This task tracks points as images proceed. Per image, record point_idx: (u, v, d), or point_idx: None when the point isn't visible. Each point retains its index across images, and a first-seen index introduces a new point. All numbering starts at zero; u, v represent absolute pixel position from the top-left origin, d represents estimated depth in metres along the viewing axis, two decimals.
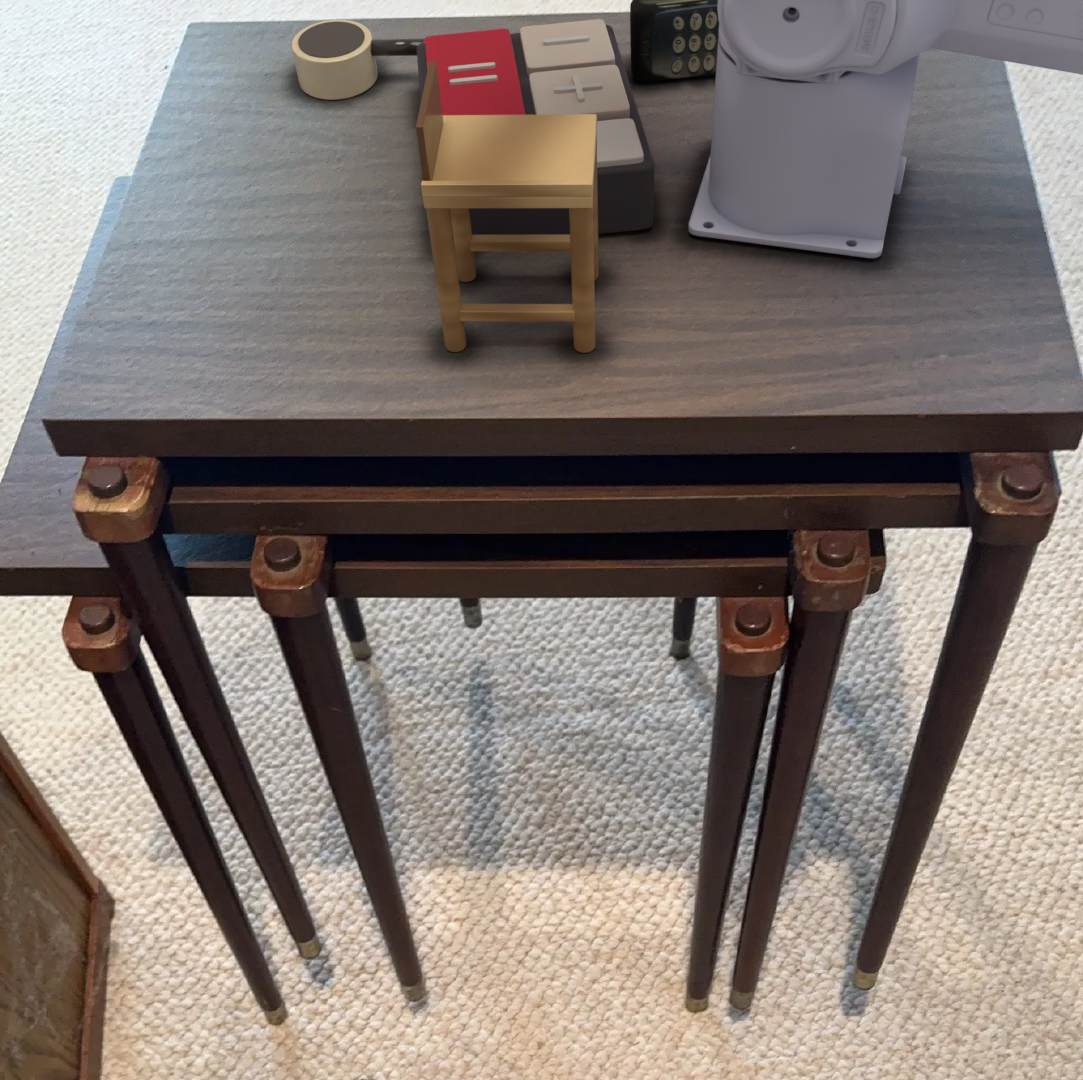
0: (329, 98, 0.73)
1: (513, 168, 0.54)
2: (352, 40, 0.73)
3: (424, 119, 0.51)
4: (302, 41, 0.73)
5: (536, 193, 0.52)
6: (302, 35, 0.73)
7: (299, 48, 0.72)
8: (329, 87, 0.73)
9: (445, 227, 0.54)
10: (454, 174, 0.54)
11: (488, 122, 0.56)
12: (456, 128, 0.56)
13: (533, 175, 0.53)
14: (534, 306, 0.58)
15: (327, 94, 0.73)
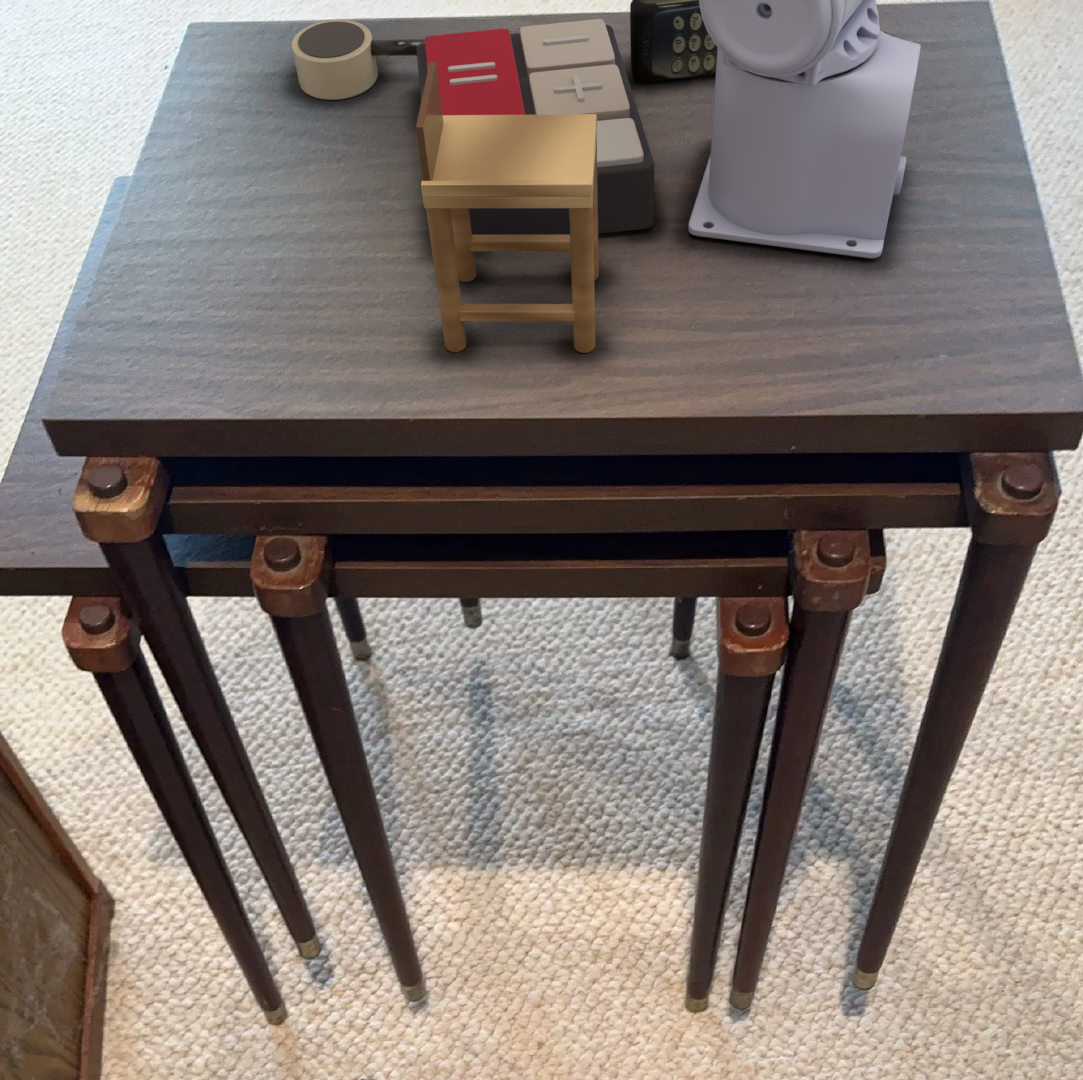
0: (329, 98, 0.73)
1: (513, 168, 0.54)
2: (352, 40, 0.73)
3: (424, 119, 0.51)
4: (302, 41, 0.73)
5: (536, 193, 0.52)
6: (302, 35, 0.73)
7: (299, 48, 0.72)
8: (329, 87, 0.73)
9: (445, 227, 0.54)
10: (454, 174, 0.54)
11: (488, 122, 0.56)
12: (456, 128, 0.56)
13: (533, 175, 0.53)
14: (534, 306, 0.58)
15: (327, 94, 0.73)
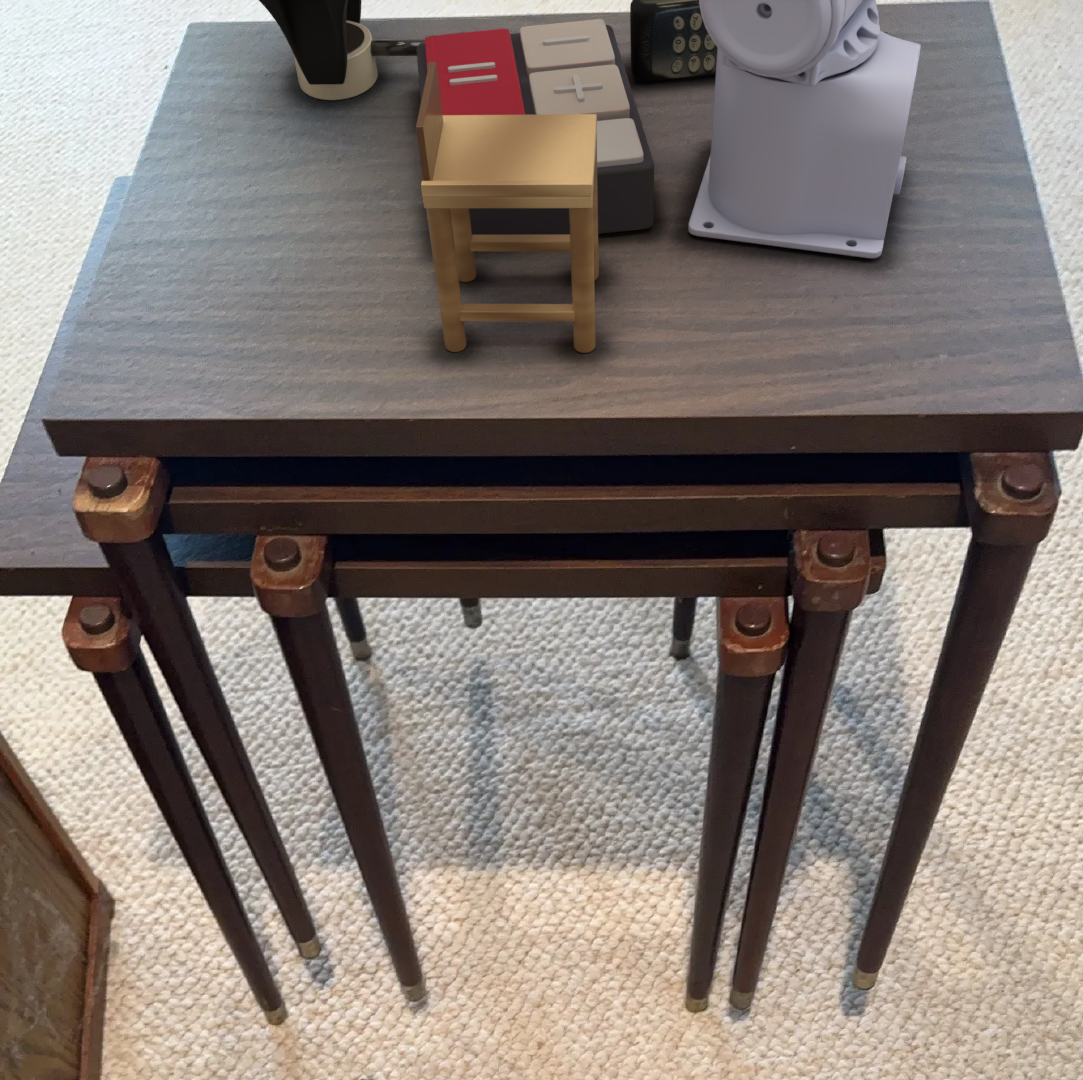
0: (328, 98, 0.73)
1: (513, 168, 0.54)
2: (352, 40, 0.73)
3: (424, 119, 0.51)
4: None
5: (536, 193, 0.52)
6: None
7: None
8: (329, 87, 0.73)
9: (445, 227, 0.54)
10: (454, 174, 0.54)
11: (488, 122, 0.56)
12: (456, 128, 0.56)
13: (533, 175, 0.53)
14: (534, 306, 0.58)
15: (327, 94, 0.73)
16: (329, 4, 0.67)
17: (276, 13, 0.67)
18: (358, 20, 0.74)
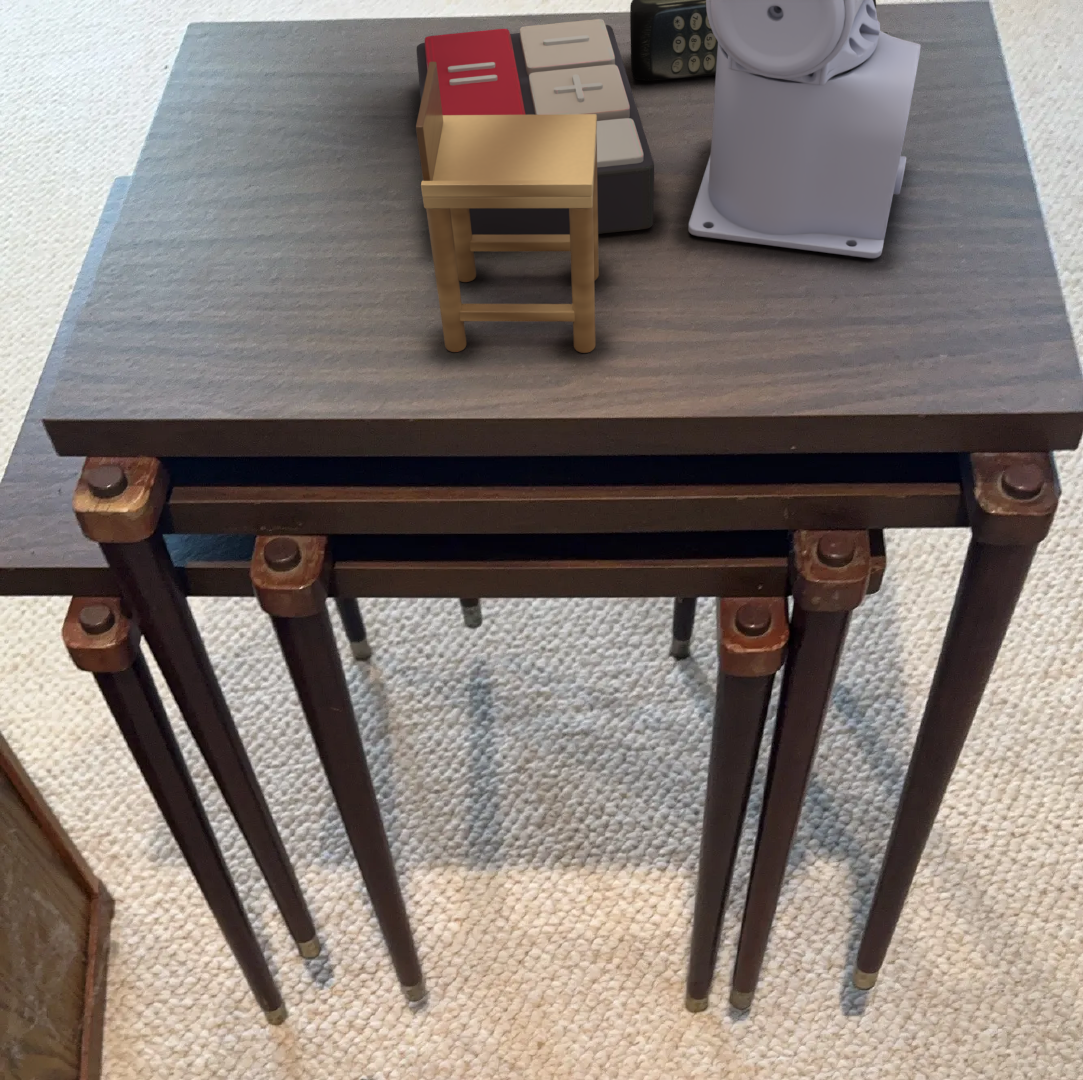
0: None
1: (513, 168, 0.54)
2: None
3: (424, 119, 0.51)
4: None
5: (536, 193, 0.52)
6: None
7: None
8: None
9: (445, 227, 0.54)
10: (454, 174, 0.54)
11: (488, 122, 0.56)
12: (456, 128, 0.56)
13: (533, 175, 0.53)
14: (534, 306, 0.58)
15: None
16: None
17: None
18: None
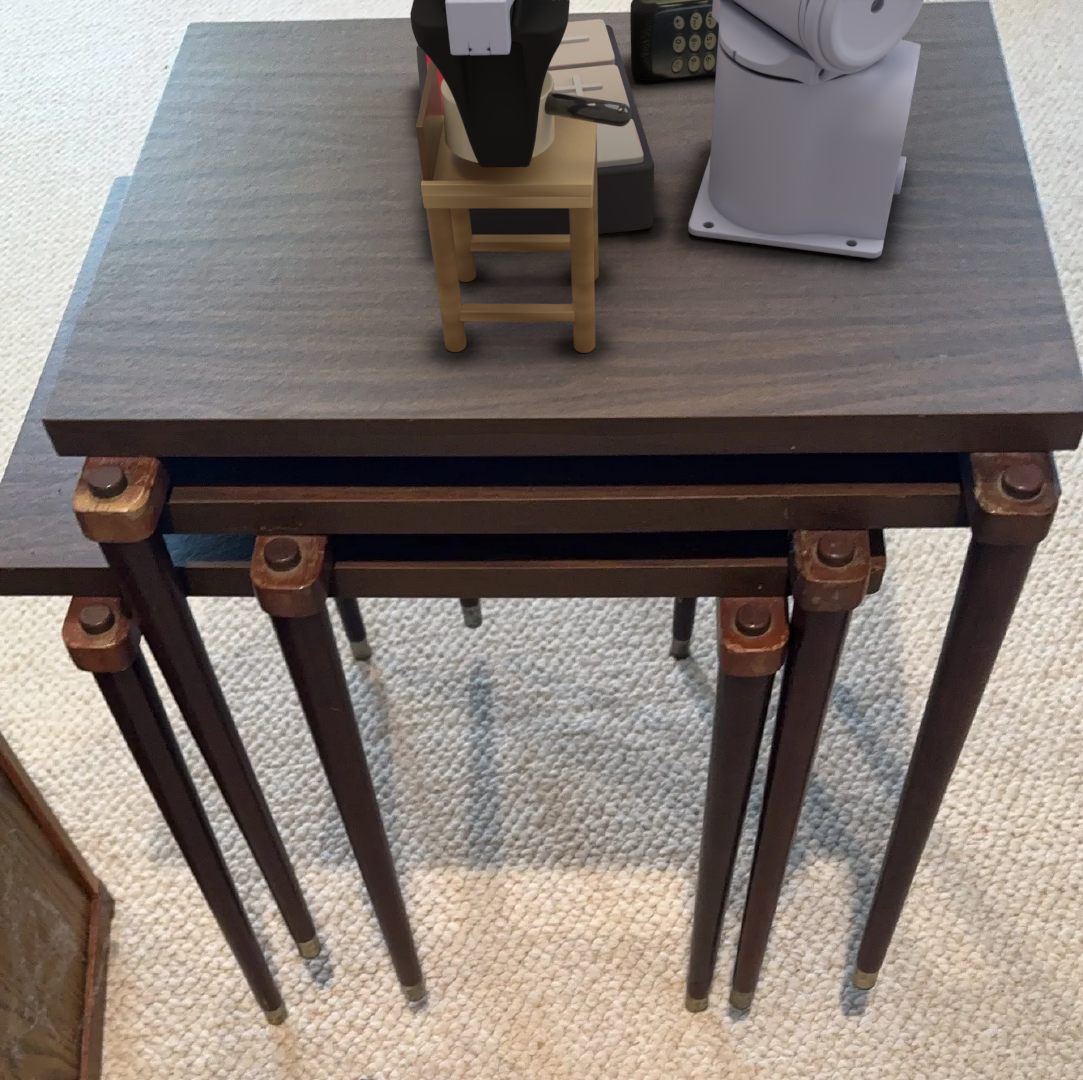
0: (473, 159, 0.52)
1: (513, 168, 0.54)
2: None
3: (424, 119, 0.51)
4: None
5: (536, 193, 0.52)
6: None
7: None
8: None
9: (445, 227, 0.54)
10: (454, 174, 0.54)
11: None
12: None
13: (533, 175, 0.53)
14: (534, 306, 0.58)
15: (472, 154, 0.52)
16: (529, 61, 0.46)
17: (449, 73, 0.47)
18: None
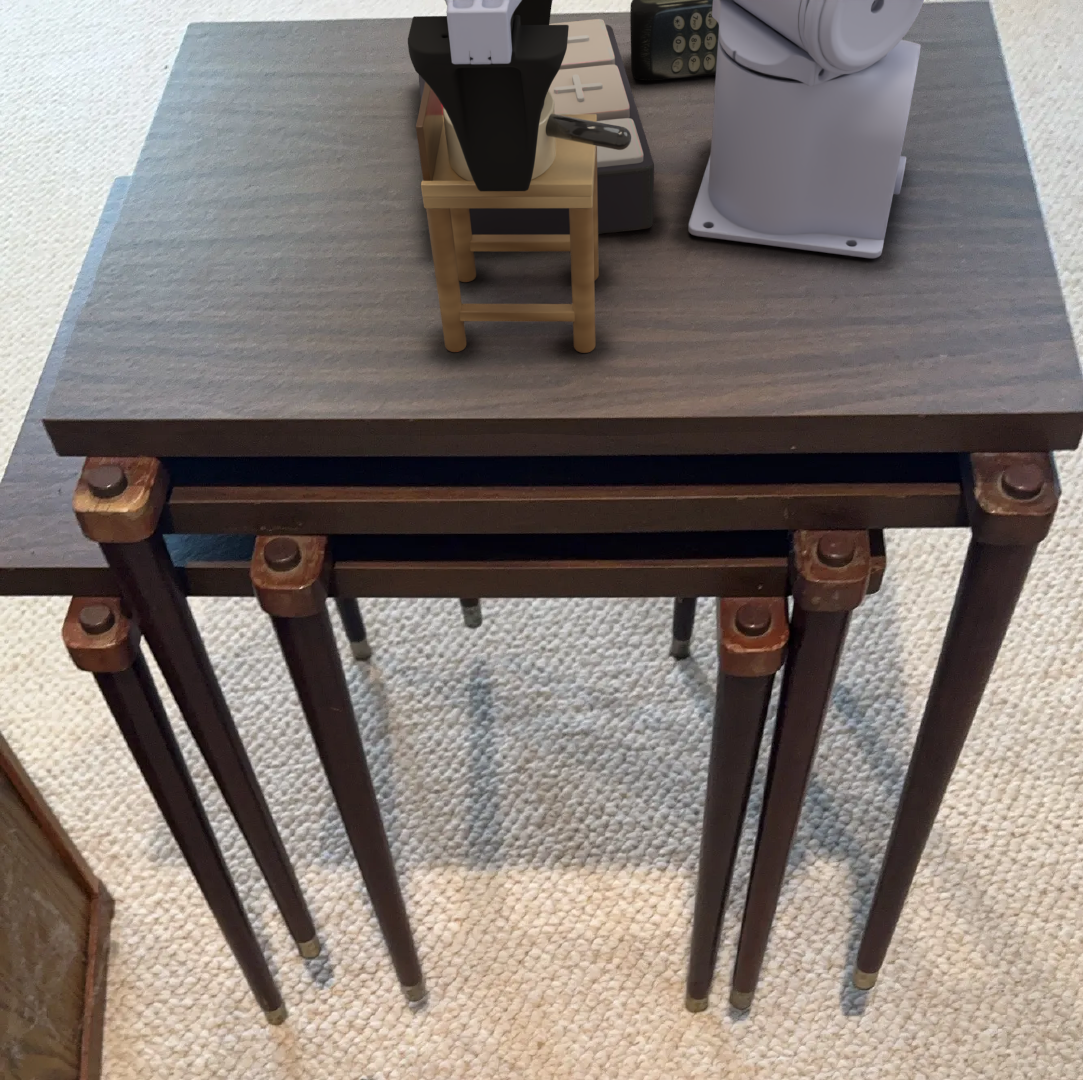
0: None
1: None
2: None
3: (424, 119, 0.51)
4: None
5: (536, 193, 0.52)
6: None
7: None
8: None
9: (445, 227, 0.54)
10: (454, 174, 0.54)
11: None
12: None
13: None
14: (534, 306, 0.58)
15: None
16: (527, 87, 0.46)
17: (447, 98, 0.47)
18: None
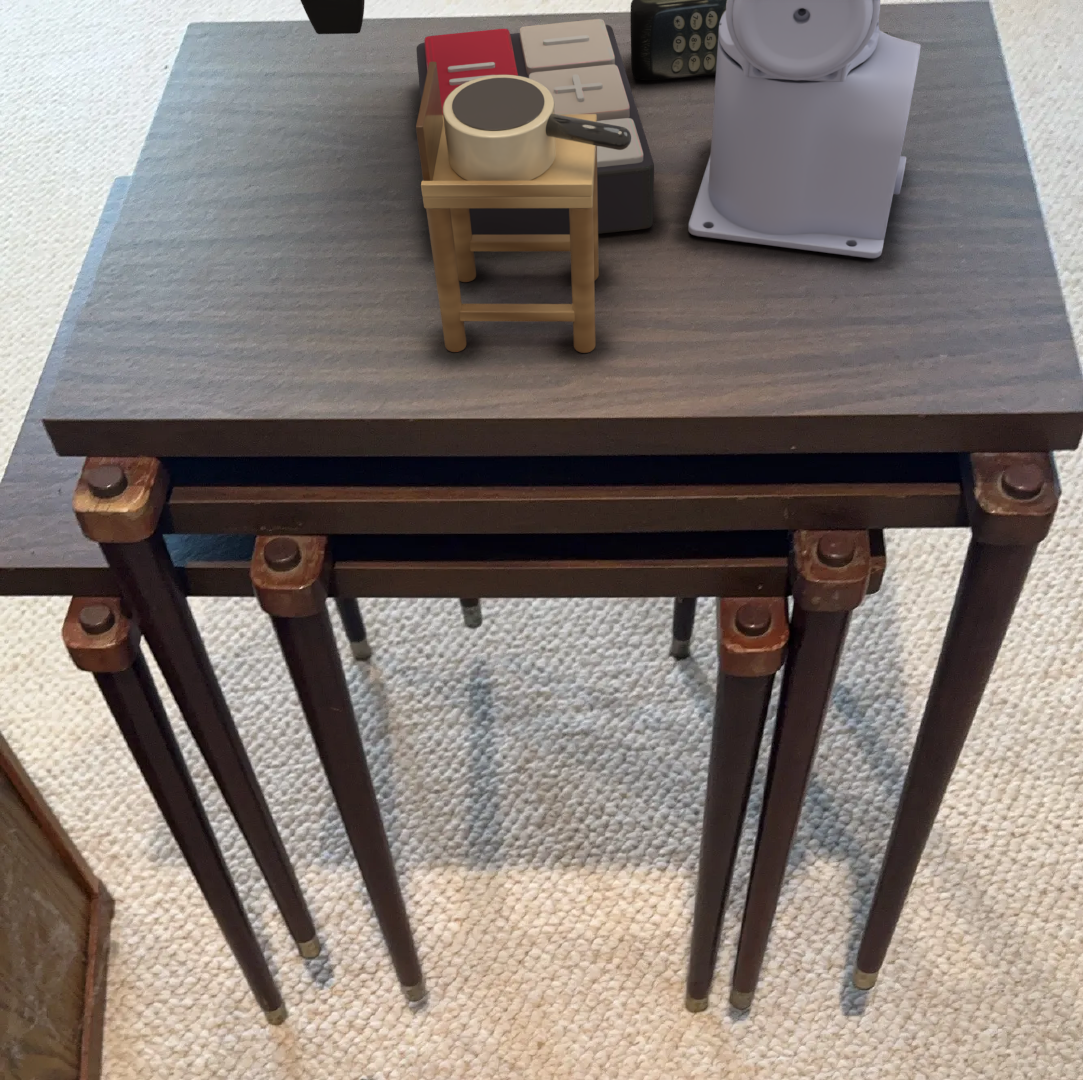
0: None
1: None
2: (524, 110, 0.52)
3: (424, 119, 0.51)
4: (459, 99, 0.53)
5: (536, 193, 0.52)
6: (464, 89, 0.53)
7: (451, 108, 0.53)
8: (478, 168, 0.53)
9: (445, 227, 0.54)
10: (454, 174, 0.54)
11: None
12: None
13: None
14: (534, 306, 0.58)
15: (475, 177, 0.53)
16: None
17: None
18: None
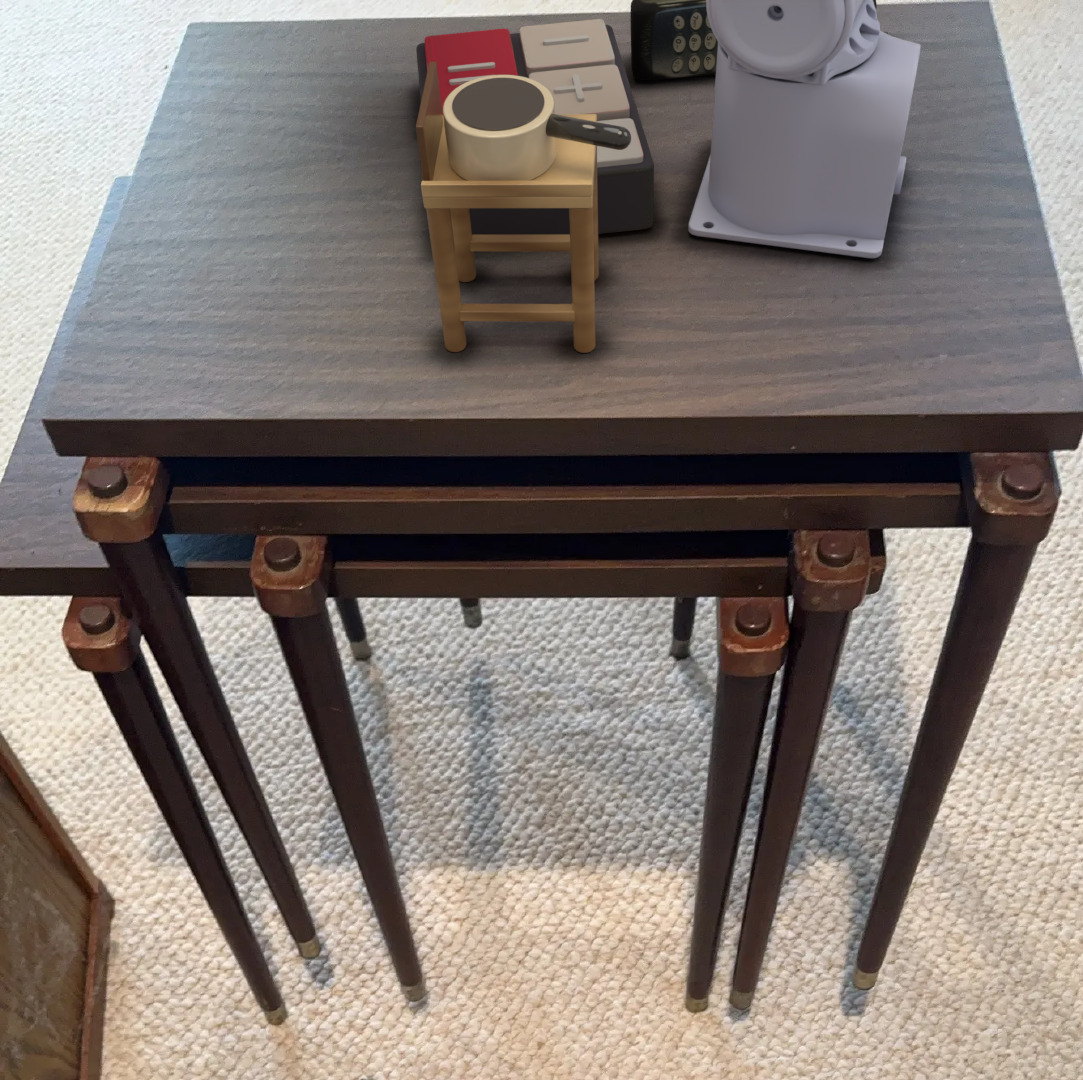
0: None
1: None
2: (524, 110, 0.52)
3: (424, 119, 0.51)
4: (459, 99, 0.53)
5: (536, 193, 0.52)
6: (464, 89, 0.53)
7: (451, 108, 0.53)
8: (478, 168, 0.53)
9: (445, 227, 0.54)
10: (454, 174, 0.54)
11: None
12: None
13: None
14: (534, 306, 0.58)
15: (475, 177, 0.53)
16: None
17: None
18: None
